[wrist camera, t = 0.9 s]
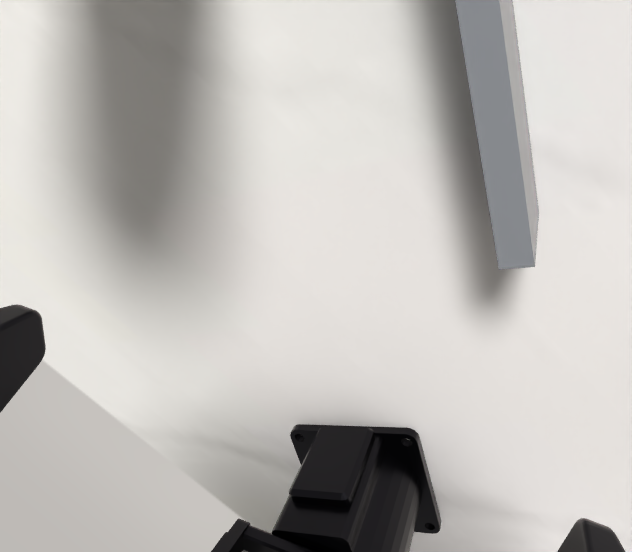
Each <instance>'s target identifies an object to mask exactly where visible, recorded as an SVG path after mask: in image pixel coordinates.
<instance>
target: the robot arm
mask: <svg viewBox="0 0 632 552" xmlns="http://www.w3.org/2000/svg"><path fill="white" fill-rule="evenodd" d="M44 354H45V339H44V332H43V324H42V318H41V315H40V314H39V313H38V312H37V311H35V310H32V309H30V308H27V307H24V306H22V305H11V306H7V307H3V308H0V412H1V411H2V410H3V409H4V407H5V406H6V405H7V403H8V402H9V401H10V400H11V398H12V397H13V396H14V395H15V394H16V392H17V391H18V390H19V389H20V387H21V386H22V385H23V384H24V382H25V381H26V380H27V379H28V377H29V376H30V375H31V374H32V372H33V371H34V370H35V369H36V367H37V366H38V365H39V363H40V362H41V361H42V359H43V357H44ZM300 434H301V435H300ZM290 436H291V439H292V442H293V445H294V447H295V450H296V453H297V455H298V458H299V461H300V463H301V467H300V469H299V471H298V473H297V475H296V478H295V480H294V482H293V484H292V486H291V488H290V490H289V494H290V495H289V497H288V499H287V502H286V504H285V506H284V508H283V510H282V512H281V514H280V516H279V518H278V520H277V522H276V525H275V527H274V529H273V531H272V534H271V533H268V532H266V531H263V530H261V529H258V528H256V527H253V526H250V523H249V522H246V521H244V520H241V519H238V520H237V521H236V522H235V524H234V525H233V526H232V528H231V529H230V530H229V532H226V533H225V534H224V535H223V536H222V538H221V539H220V540H219V542H218V543H217V545H216V546H215V547H214V549H213V550H212V551H211V552H409V549H410V545H411V541H412V537H413V533H414V532H423V533H438V532H439V531H440V527H441V518H440V514H439V510H438V507H437V503H436V499H435V495H434V491H433V487H432V484H431V480H430V476H429V472H428V468H427V464H426V461H425V457H424V453H423V449H422V445H421V441H420V437H419V435H418V433H417V432H416V431H415V430H412V429H410V428H395V427H363V426H332V425H296V426H294V428H293V430H292V432H291V434H290ZM405 438H408V439H410V440H407V439H405ZM558 552H625V550H624V548H623V547H622V545H621V543H620V541H619V540H618V538H617V536H616V534H615V533H614V532H613V531H612V530H611V529H610V528H609V527H607V526H604V525H601V524H599V523H596V522H593V521H591V520H588V519H585V518H582V519H579V520H578V521H577V522H576V523H575V524H574V526H573V528H572V529H571V531H570V532H569V534H568V536H567V537H566V539H565V540H564V542H563V543H562V545H561V547H560V548H559V550H558Z"/></svg>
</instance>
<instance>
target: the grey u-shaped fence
mask: <svg viewBox="0 0 632 552" xmlns="http://www.w3.org/2000/svg"><path fill="white" fill-rule="evenodd" d="M455 3H456V9H457V15H458V21H459V27H460V33H461V39H462V46H463V52H464V58H465V64H466V70H467V76H468V83H469V89H470V95H471V101H472V107H473V113H474V119H475V126H476V132H477V138H478V144H479V150H480V156H481V162H482V169H483V175H484V181H485V187H486V193H487V199H488V206H489V212H490V218H491V224H492V230H493V236H494V242H495V249H496V255H497V261H498V267H499V270H501V269H513V268H525V267H535V258H536V245H537V231H538V218H539V209H538V201H537V193H536V185H535V177H534V169H533V161H532V153H531V145H530V137H529V129H528V121H527V113H526V105H525V97H524V89H523V81H522V73H521V65H520V57H519V49H518V41H517V33H516V25H515V17H514V9H513V1H512V0H455Z"/></svg>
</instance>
